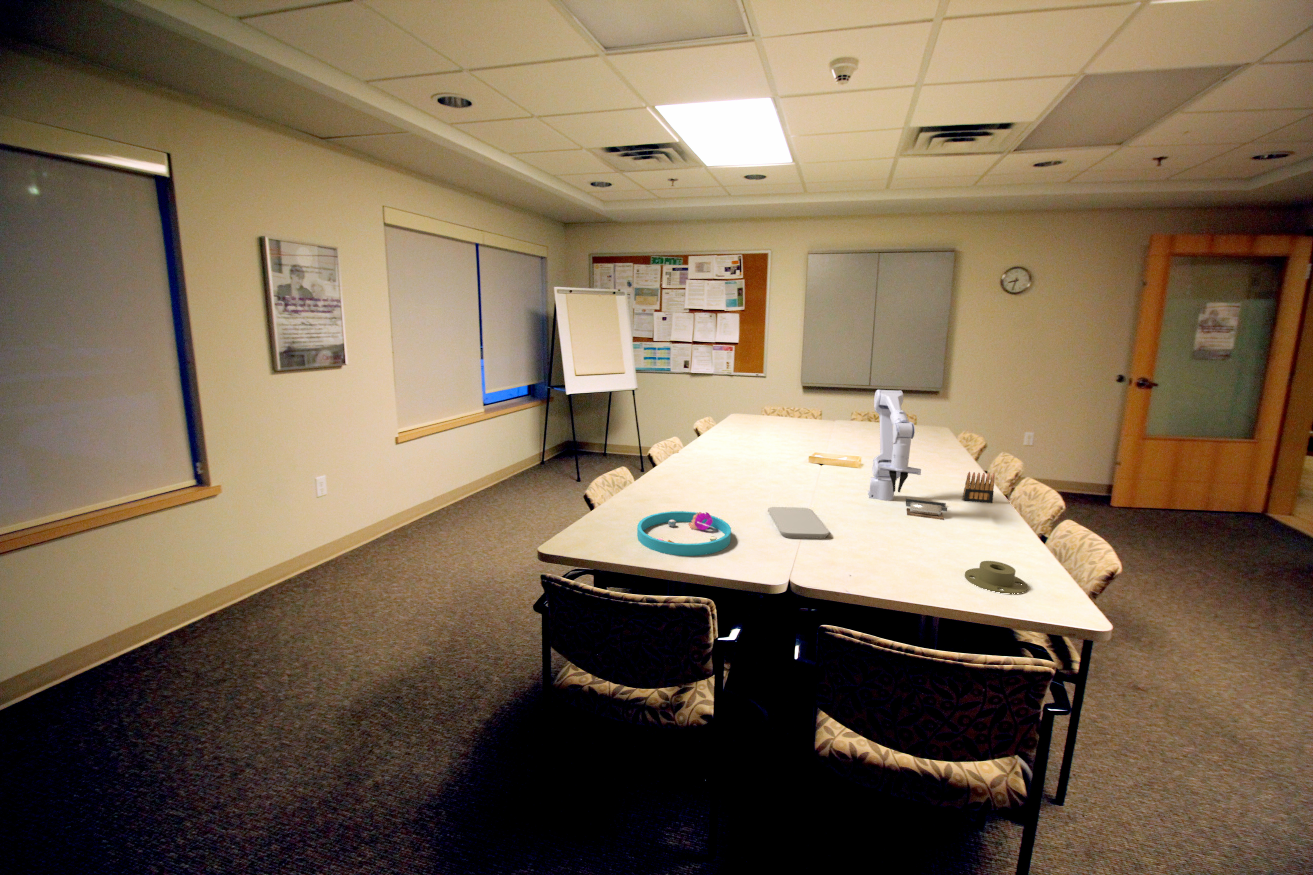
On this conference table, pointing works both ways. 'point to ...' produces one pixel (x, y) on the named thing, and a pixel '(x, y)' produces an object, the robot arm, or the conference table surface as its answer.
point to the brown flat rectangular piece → (924, 515)
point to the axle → (925, 509)
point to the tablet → (798, 522)
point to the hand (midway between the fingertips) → (896, 491)
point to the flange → (996, 577)
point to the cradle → (926, 503)
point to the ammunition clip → (979, 489)
